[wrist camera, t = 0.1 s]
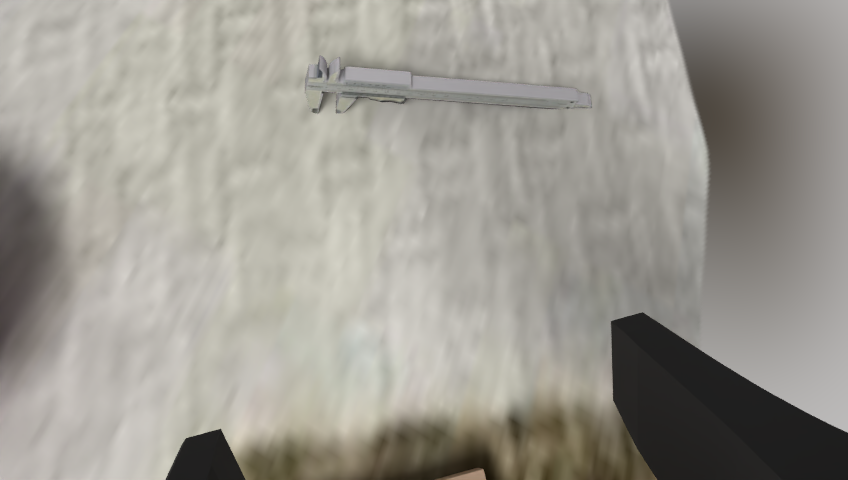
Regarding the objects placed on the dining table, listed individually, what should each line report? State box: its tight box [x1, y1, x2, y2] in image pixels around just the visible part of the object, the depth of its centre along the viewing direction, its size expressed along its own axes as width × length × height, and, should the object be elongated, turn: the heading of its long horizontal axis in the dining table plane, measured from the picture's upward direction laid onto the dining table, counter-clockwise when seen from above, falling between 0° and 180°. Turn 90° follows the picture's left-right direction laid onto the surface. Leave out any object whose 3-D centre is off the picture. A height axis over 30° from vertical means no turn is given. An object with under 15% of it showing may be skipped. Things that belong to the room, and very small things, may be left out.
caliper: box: [305, 55, 592, 113], centre depth 47 cm, size 21×1×6 cm, turn 92°
